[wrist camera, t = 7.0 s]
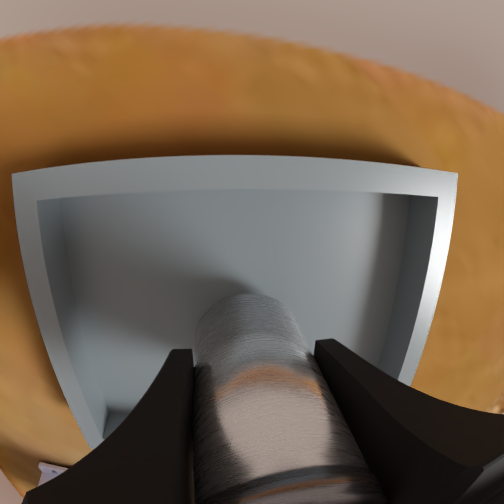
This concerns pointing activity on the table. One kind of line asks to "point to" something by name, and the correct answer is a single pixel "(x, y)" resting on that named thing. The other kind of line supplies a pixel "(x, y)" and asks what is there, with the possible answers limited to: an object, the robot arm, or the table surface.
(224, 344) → the shaker
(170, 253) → the tray
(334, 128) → the table surface
